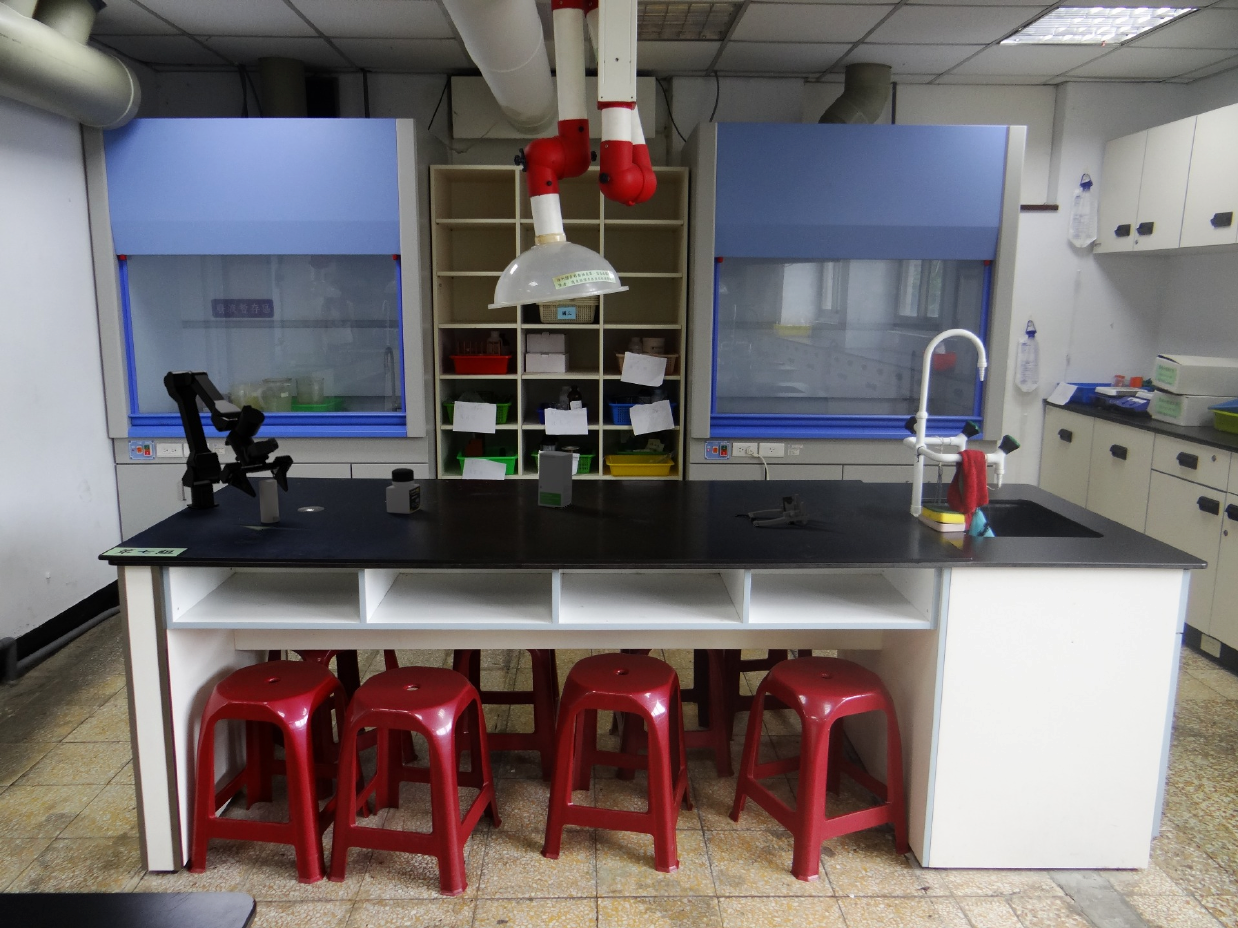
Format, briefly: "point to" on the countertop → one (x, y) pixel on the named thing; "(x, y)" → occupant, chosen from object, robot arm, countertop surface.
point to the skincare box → (555, 478)
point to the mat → (256, 527)
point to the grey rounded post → (268, 501)
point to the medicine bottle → (403, 492)
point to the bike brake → (788, 510)
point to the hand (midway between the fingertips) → (271, 493)
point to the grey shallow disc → (310, 509)
